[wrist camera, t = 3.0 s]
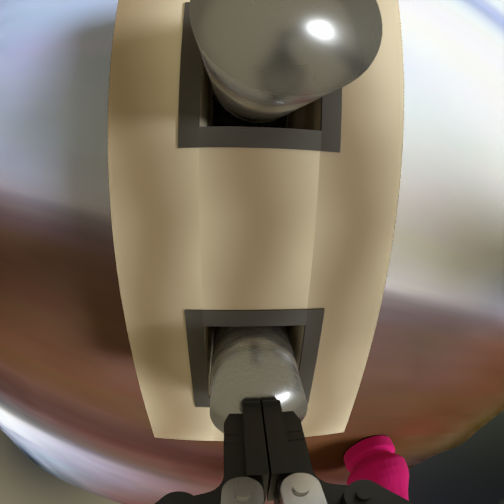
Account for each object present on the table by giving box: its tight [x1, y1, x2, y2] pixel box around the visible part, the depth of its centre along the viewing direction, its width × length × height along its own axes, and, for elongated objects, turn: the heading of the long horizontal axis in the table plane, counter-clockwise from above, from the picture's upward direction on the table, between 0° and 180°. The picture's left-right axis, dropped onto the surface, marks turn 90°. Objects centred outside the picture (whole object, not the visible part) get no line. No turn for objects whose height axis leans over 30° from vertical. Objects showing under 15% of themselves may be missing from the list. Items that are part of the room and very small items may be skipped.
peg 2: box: [210, 326, 308, 433], centre depth 15 cm, size 4×4×8 cm
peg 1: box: [189, 0, 382, 123], centre depth 8 cm, size 4×4×8 cm
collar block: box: [108, 0, 404, 441], centre depth 16 cm, size 12×26×8 cm, turn 179°
